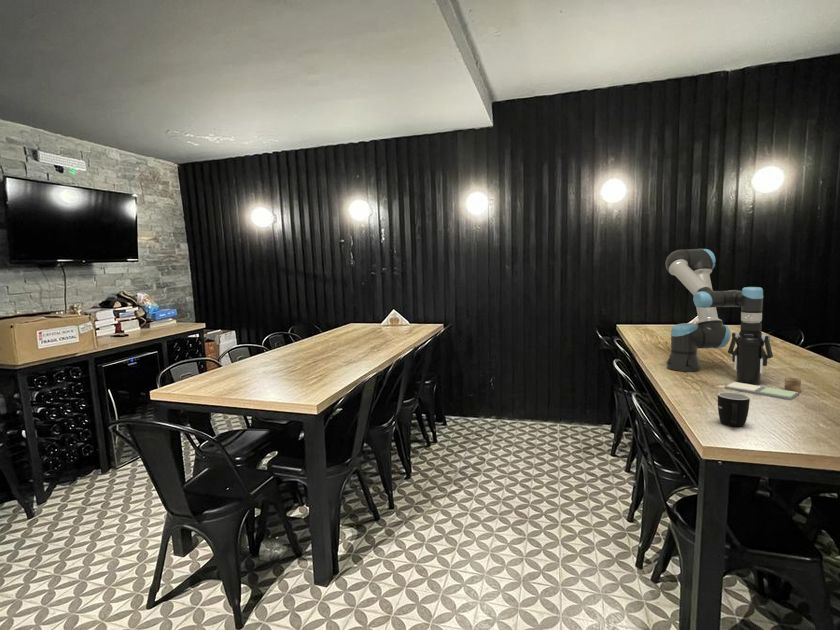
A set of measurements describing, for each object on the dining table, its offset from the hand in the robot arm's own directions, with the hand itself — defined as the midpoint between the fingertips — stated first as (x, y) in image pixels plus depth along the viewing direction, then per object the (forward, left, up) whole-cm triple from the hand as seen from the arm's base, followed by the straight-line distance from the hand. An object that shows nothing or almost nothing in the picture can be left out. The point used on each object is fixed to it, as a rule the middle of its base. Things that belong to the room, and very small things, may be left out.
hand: (748, 371), depth 200 cm
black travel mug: (0, 0, -6) cm, 6 cm away
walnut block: (+16, -1, -6) cm, 17 cm away
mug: (+15, -63, -6) cm, 65 cm away
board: (+8, -11, -5) cm, 15 cm away
